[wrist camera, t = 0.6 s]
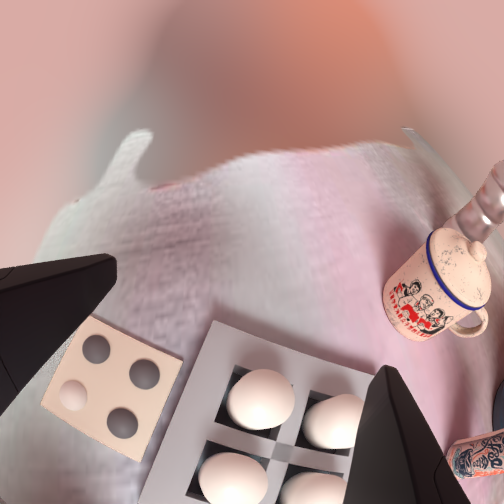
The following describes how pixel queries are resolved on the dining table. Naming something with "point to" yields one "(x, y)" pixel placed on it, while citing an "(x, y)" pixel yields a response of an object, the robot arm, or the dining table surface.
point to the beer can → (477, 455)
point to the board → (271, 450)
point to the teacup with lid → (439, 287)
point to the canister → (499, 409)
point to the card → (111, 387)
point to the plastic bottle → (482, 208)
